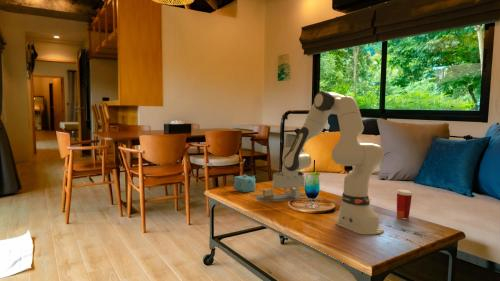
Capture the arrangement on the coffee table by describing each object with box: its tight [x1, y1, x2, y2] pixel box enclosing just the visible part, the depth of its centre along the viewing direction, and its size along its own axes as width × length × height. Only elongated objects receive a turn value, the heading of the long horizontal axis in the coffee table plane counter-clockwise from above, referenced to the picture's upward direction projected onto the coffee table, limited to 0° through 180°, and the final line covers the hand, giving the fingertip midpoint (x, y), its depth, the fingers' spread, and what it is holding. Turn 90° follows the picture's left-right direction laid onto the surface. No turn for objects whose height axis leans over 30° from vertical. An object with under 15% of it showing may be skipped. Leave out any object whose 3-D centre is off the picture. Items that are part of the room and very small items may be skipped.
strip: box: [253, 187, 301, 202], centre depth 201 cm, size 11×26×6 cm, turn 107°
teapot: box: [233, 174, 256, 193], centre depth 216 cm, size 16×18×11 cm
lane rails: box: [249, 192, 321, 203], centre depth 202 cm, size 14×40×1 cm, turn 107°
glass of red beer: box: [395, 189, 413, 219], centre depth 172 cm, size 8×8×14 cm
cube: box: [262, 188, 275, 199], centre depth 199 cm, size 5×5×5 cm
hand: (288, 194), depth 203 cm, fingers closed
